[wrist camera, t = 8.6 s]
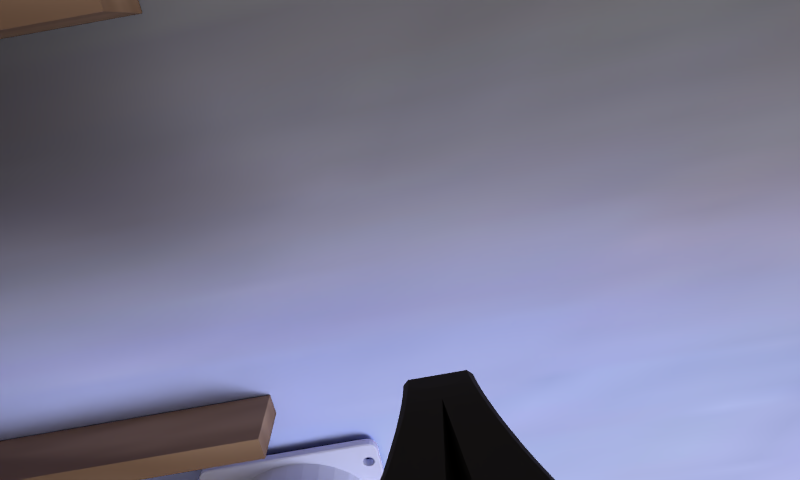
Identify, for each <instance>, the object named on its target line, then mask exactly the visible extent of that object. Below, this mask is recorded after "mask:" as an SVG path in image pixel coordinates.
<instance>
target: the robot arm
mask: <svg viewBox="0 0 800 480" xmlns="http://www.w3.org/2000/svg"><path fill="white" fill-rule="evenodd" d="M367 457H371V458H372V459H366V458H367ZM199 479H200V480H555V479H554V478H553V477H552V476H551V475H550V474H549V473H548V472H547V471H546V470H545V469H544V468H543V467H542V466H541V465H540V463H539V462H538V461H537V460H536V459H535V458H534V457H533V456H532V455H531V453H530V452H529V451H528V450H527V449H526V448H525V447H524V445H523V444H522V443H521V442H520V441H519V439H518V438H517V437H516V436H515V434H514V433H513V432H512V431H511V430H510V428H509V427H508V426H507V425H506V423H505V422H504V421H503V420H502V418H501V417H500V416H499V414H498V413H497V412H496V410H495V409H494V407H493V406H492V405H491V403H490V402H489V400H488V399H487V397H486V396H485V394H484V393H483V391H482V390H481V388H480V387H479V385H478V383H477V381H476V380H475V378H474V376H473V374H472V373H470V372H469V371H467V370H465V371H459V372H453V373H447V374H441V375H435V376H430V377H424V378H418V379H412V380H408V381H407V382H406V383H405V385H404V387H403V398H402V405H401V410H400V415H399V419H398V423H397V428H396V432H395V435H394V439H393V442H392V445H391V449H390V452H389V455H388V459H387V462H386V465H385V468H384V469H383V465H382V461H381V457H380V452H379V448H378V445H377V443H376V442H375V441H374V440H371V439H361V440H355V441H349V442H343V443H338V444H332V445H326V446H320V447H314V448H308V449H302V450H296V451H290V452H284V453H279V454H273V455H267V456H266V458H265V459H259V460H253V461H248V462H242V463H236V464H230V465H224V466H218V467H212V468H206V469H202V472H201V474H200V477H199Z"/></svg>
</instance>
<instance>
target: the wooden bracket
mask: <svg viewBox="0 0 800 480" xmlns="http://www.w3.org/2000/svg"><path fill="white" fill-rule="evenodd" d="M141 13H142V10H141V7H140V4H139V1H138V0H0V39H3V38H9V37H14V36H20V35H25V34H31V33H36V32H42V31H47V30H53V29H58V28H64V27H69V26H75V25H80V24H86V23H91V22H97V21H102V20H108V19H113V18H119V17H124V16H130V15H135V14H141ZM275 416H276V411H275V408H274V405H273V402H272V399H271V396H270V395H267V396H261V397H256V398H250V399H244V400H238V401H232V402H226V403H220V404H215V405H209V406H203V407H197V408H191V409H185V410H179V411H174V412H168V413H162V414H156V415H150V416H144V417H139V418H133V419H127V420H121V421H115V422H109V423H103V424H98V425H92V426H86V427H80V428H74V429H68V430H62V431H57V432H51V433H45V434H39V435H33V436H27V437H22V438H16V439H10V440H4V441H0V480H141V479H147V478H153V477H159V476H165V475H171V474H177V473H183V472H189V471H194V470H200V469H206V468H212V467H218V466H224V465H230V464H236V463H242V462H248V461H253V460H259V459H265V458H266V453H267V449H268V445H269V441H270V437H271V433H272V428H273V424H274V420H275Z"/></svg>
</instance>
